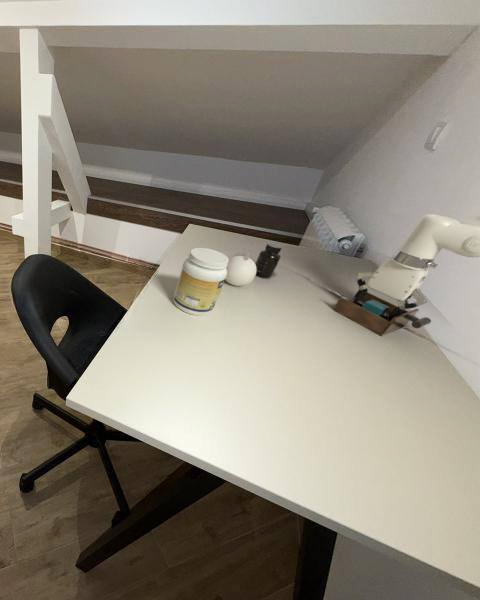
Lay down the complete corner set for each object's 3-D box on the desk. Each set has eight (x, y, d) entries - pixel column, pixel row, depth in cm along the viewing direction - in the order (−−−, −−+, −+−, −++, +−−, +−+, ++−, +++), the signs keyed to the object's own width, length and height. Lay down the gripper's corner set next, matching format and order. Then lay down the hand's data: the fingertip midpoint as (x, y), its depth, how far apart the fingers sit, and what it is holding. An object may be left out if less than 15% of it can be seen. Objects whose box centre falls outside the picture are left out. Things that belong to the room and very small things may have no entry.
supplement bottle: (259, 269, 122) (272, 240, 115) (274, 277, 117) (289, 248, 110) (247, 271, 119) (260, 242, 112) (262, 280, 114) (277, 250, 107)
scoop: (422, 335, 93) (439, 317, 89) (399, 346, 87) (416, 327, 83) (356, 302, 106) (368, 284, 103) (332, 309, 101) (344, 291, 97)
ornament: (251, 294, 105) (266, 262, 98) (219, 287, 107) (232, 255, 100) (247, 280, 113) (260, 250, 106) (217, 274, 115) (229, 244, 108)
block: (380, 318, 97) (389, 307, 95) (372, 321, 96) (382, 309, 93) (364, 310, 101) (373, 299, 98) (357, 313, 99) (365, 301, 96)
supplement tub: (214, 320, 90) (236, 268, 80) (172, 311, 91) (188, 260, 82) (210, 298, 100) (229, 250, 90) (171, 291, 101) (186, 242, 92)
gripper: (456, 272, 82) (412, 322, 92) (383, 245, 95) (350, 292, 105) (444, 276, 79) (400, 328, 89) (370, 248, 92) (338, 296, 102)
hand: (373, 308), depth 97 cm, fingers open, 9 cm apart
